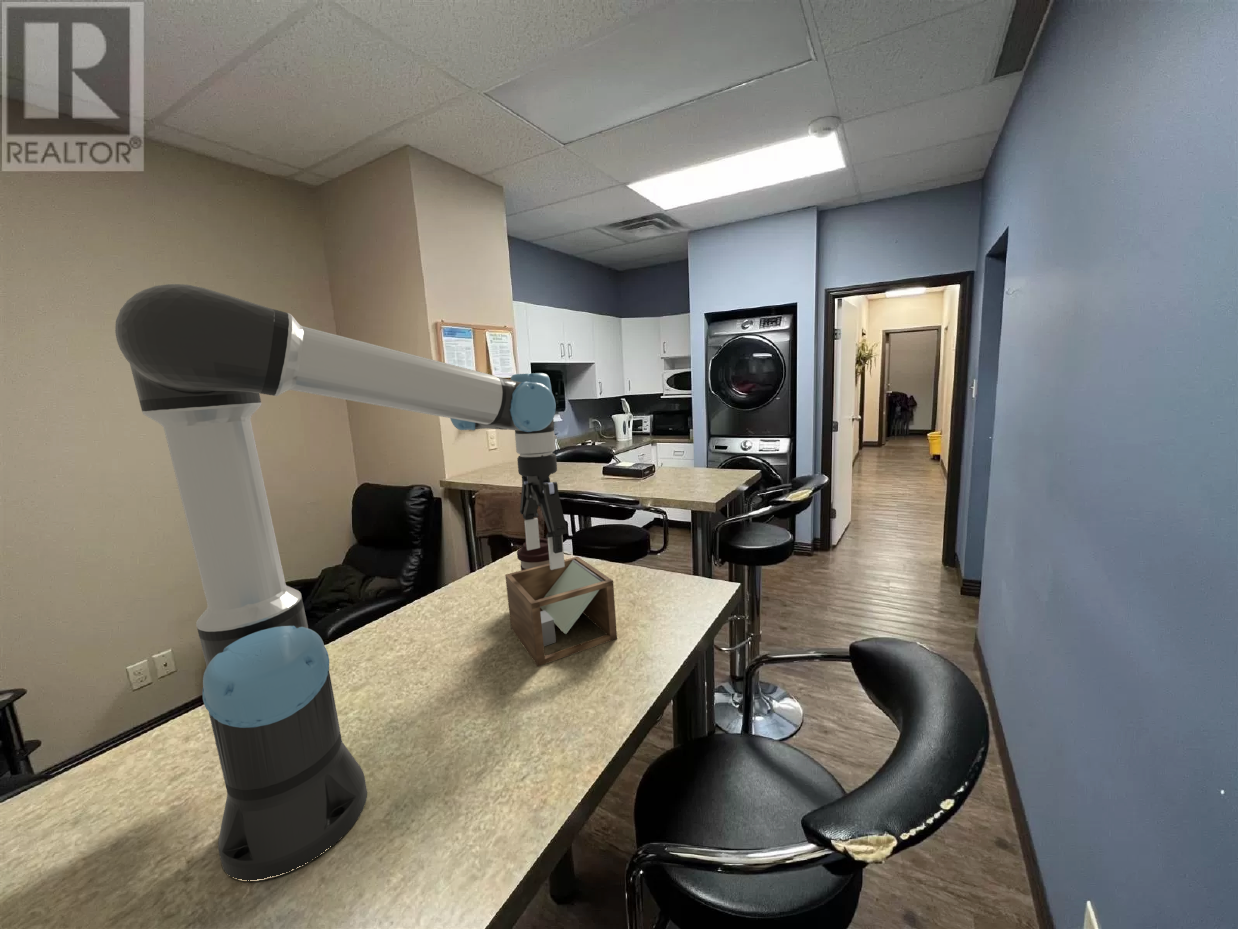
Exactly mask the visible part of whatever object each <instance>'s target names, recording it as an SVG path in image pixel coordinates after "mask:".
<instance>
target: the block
mask: <svg viewBox="0 0 1238 929" xmlns="http://www.w3.org/2000/svg"><path fill="white" fill-rule="evenodd" d="M540 613H541V624H542V634H543V644H544V647H546V646H549V645H552V644H554V643H557V641H556V638H557V637H556V629H555V623H554V619H553V618H552V617H551V616H550V615H549V614H548V613H547V612H546V611H545V610H544V611H540Z"/></svg>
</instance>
